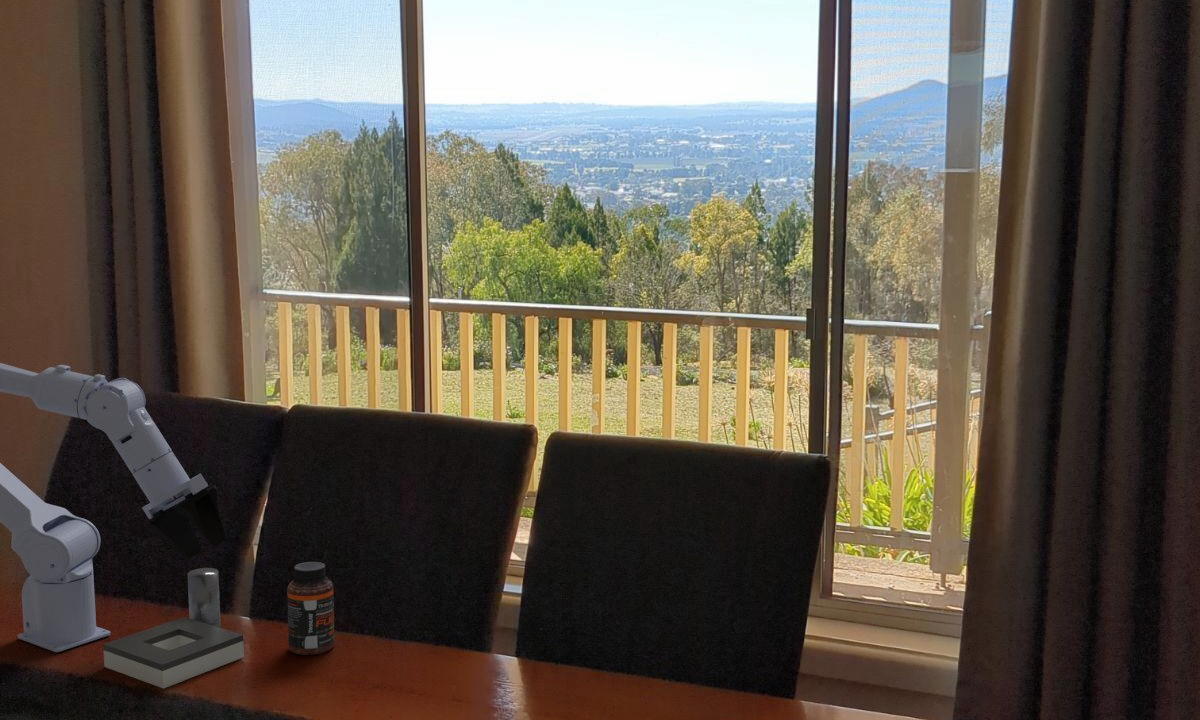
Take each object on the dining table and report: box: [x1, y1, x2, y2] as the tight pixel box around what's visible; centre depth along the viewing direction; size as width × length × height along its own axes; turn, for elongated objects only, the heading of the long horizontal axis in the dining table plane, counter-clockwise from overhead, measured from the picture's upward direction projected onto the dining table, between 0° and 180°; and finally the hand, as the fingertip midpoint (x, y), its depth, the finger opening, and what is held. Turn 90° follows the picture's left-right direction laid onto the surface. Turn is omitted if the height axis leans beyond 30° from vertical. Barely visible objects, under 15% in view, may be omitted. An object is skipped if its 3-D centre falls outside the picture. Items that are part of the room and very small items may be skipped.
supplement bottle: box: [286, 561, 335, 656], centre depth 151 cm, size 6×6×11 cm
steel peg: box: [187, 567, 222, 628], centre depth 159 cm, size 4×4×8 cm
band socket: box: [102, 616, 245, 689], centre depth 147 cm, size 12×12×3 cm
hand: (207, 549), depth 153 cm, fingers open, 7 cm apart
